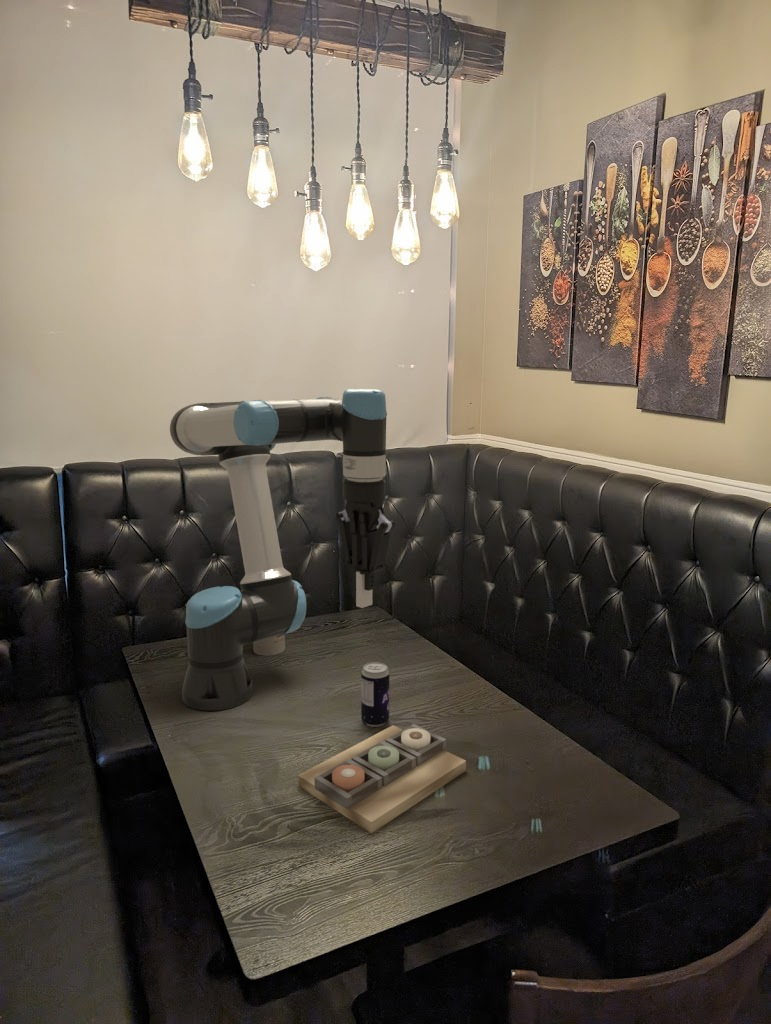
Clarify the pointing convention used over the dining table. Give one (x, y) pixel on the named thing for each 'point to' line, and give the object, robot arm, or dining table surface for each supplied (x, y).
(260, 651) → the thermos bottle
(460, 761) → the panel
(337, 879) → the dining table surface
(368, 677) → the beverage can
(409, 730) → the cream button
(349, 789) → the terracotta button
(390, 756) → the sage button
